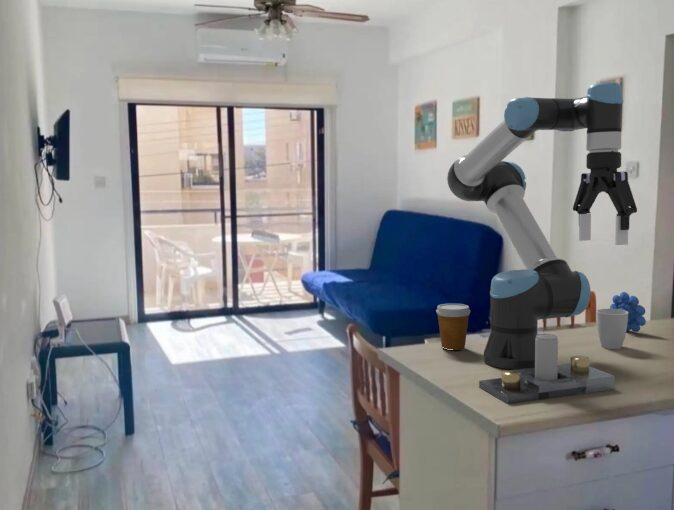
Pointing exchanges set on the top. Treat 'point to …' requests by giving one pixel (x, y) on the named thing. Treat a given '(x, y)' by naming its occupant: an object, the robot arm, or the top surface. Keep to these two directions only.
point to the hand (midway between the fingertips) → (602, 242)
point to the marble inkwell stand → (549, 382)
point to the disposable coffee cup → (453, 325)
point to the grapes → (630, 310)
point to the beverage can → (546, 357)
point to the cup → (612, 327)
